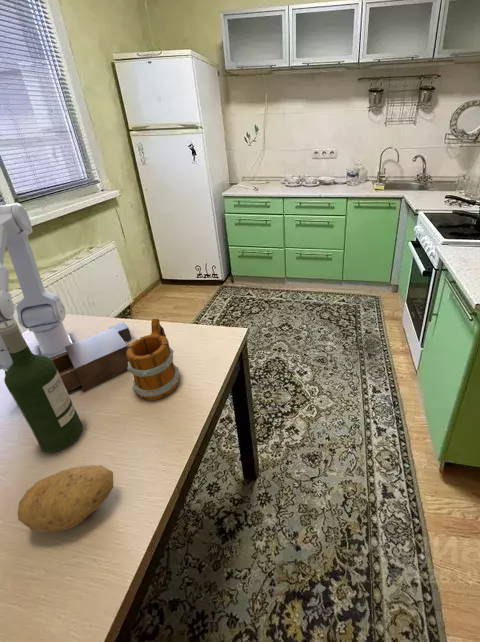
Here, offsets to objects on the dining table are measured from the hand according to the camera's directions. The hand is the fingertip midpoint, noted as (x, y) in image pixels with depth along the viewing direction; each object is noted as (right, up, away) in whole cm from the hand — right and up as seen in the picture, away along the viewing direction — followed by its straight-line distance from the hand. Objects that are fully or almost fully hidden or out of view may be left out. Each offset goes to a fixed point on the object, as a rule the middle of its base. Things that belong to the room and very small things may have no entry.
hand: (31, 387), depth 79 cm
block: (+11, +7, +22) cm, 26 cm away
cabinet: (+12, +2, +11) cm, 16 cm away
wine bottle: (+14, -8, -8) cm, 18 cm away
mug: (+29, 0, +7) cm, 30 cm away
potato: (+26, -14, -21) cm, 36 cm away
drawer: (+4, -1, +4) cm, 6 cm away
